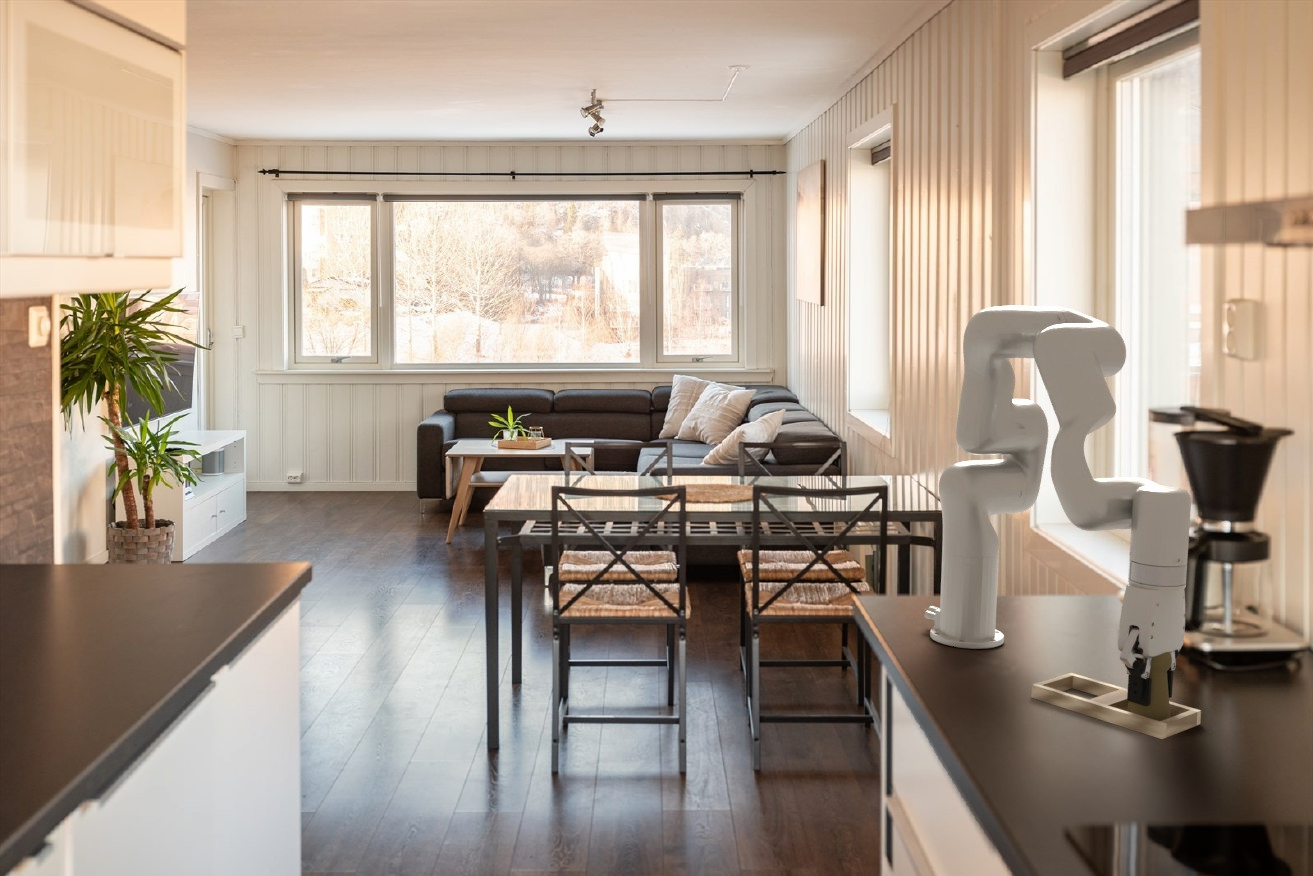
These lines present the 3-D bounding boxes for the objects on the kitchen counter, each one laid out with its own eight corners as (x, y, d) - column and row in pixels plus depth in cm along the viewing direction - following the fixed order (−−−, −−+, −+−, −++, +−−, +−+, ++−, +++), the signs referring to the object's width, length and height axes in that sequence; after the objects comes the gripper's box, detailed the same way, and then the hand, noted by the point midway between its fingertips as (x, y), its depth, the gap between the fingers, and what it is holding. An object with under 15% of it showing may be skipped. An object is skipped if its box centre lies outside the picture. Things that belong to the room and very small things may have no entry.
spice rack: (1031, 697, 181) (1031, 684, 181) (1070, 685, 187) (1071, 672, 187) (1161, 739, 164) (1162, 725, 164) (1200, 724, 170) (1201, 710, 170)
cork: (1175, 730, 168) (1180, 654, 166) (1129, 727, 169) (1134, 651, 168) (1166, 716, 174) (1170, 641, 172) (1121, 712, 175) (1126, 639, 173)
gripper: (1164, 561, 177) (1157, 681, 179) (1098, 577, 167) (1091, 704, 169) (1214, 571, 171) (1206, 695, 173) (1148, 587, 161) (1140, 719, 163)
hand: (1149, 698), depth 171 cm, fingers open, 4 cm apart
